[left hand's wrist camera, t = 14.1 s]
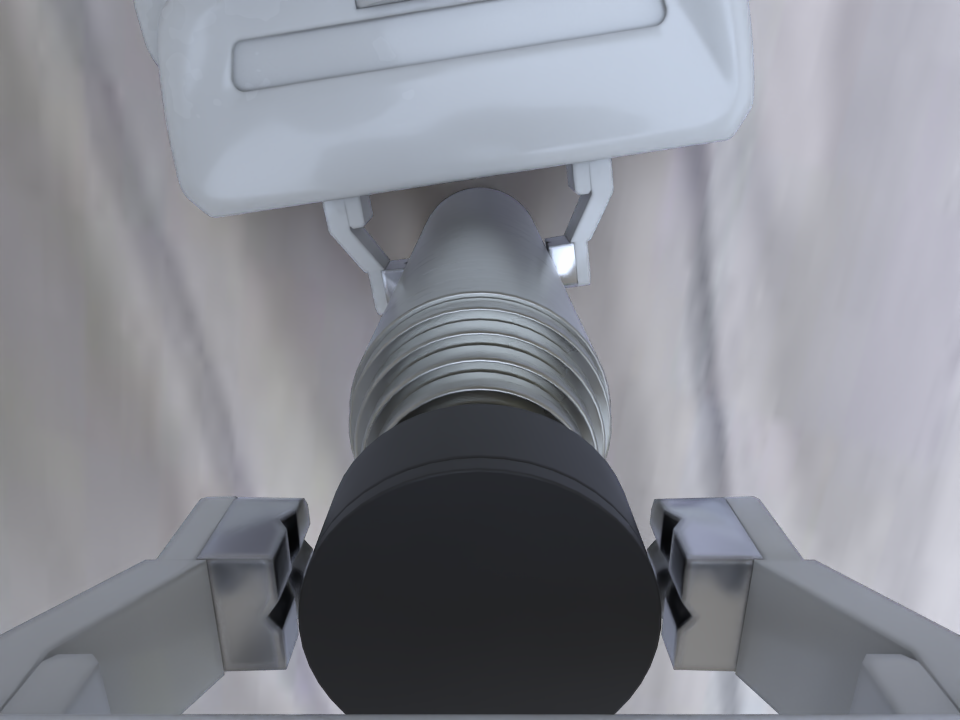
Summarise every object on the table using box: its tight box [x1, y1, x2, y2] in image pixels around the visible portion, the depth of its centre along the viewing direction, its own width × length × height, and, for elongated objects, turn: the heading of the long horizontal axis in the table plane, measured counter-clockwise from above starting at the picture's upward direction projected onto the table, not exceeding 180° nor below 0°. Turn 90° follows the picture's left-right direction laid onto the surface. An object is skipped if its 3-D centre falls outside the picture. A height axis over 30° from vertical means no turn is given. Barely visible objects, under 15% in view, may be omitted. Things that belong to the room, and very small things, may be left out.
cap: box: [298, 404, 662, 714], centre depth 9 cm, size 4×4×2 cm
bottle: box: [349, 188, 611, 460], centre depth 20 cm, size 6×6×25 cm
